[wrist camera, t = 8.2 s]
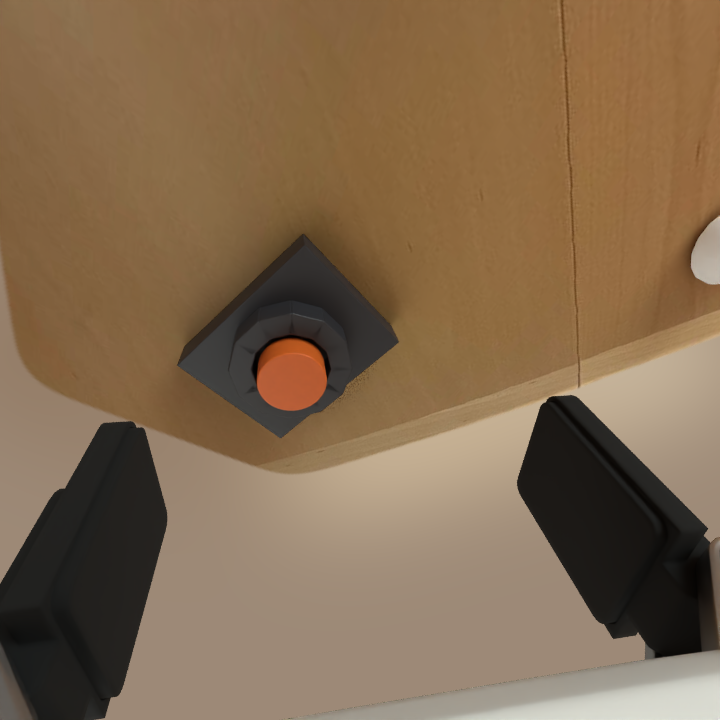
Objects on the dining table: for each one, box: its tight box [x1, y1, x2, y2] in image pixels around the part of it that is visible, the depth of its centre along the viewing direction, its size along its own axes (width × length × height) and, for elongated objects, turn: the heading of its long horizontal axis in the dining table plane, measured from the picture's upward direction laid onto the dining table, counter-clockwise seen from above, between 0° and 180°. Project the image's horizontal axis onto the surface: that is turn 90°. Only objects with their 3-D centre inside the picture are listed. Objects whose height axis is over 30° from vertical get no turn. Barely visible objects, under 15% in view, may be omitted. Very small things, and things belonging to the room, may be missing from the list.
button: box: [257, 338, 327, 411], centre depth 23 cm, size 4×4×2 cm
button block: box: [177, 234, 399, 438], centre depth 25 cm, size 8×10×4 cm
